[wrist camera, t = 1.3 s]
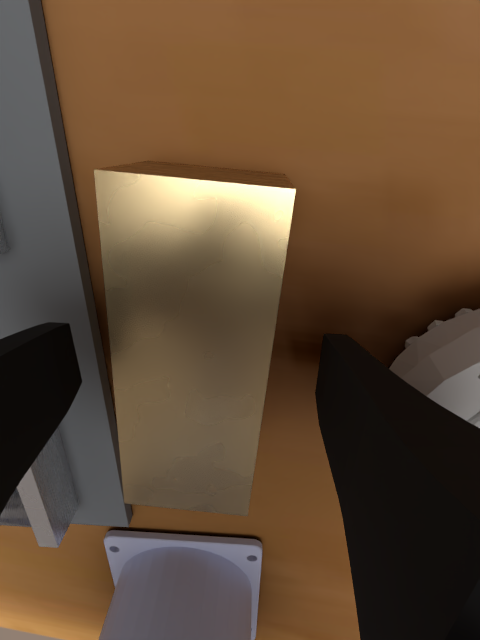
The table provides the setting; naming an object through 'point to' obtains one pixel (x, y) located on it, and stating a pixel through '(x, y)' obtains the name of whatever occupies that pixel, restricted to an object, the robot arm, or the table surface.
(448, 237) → the table surface
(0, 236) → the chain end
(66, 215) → the join mat
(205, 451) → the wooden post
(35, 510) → the chain end
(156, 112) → the table surface
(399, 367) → the mechanical component
